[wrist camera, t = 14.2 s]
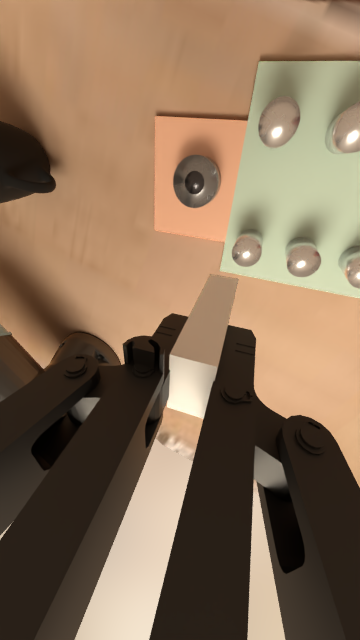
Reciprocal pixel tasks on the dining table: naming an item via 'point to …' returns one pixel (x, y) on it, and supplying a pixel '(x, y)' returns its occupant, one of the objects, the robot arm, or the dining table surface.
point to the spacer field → (299, 177)
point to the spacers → (341, 137)
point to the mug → (22, 165)
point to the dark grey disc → (196, 181)
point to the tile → (196, 139)
